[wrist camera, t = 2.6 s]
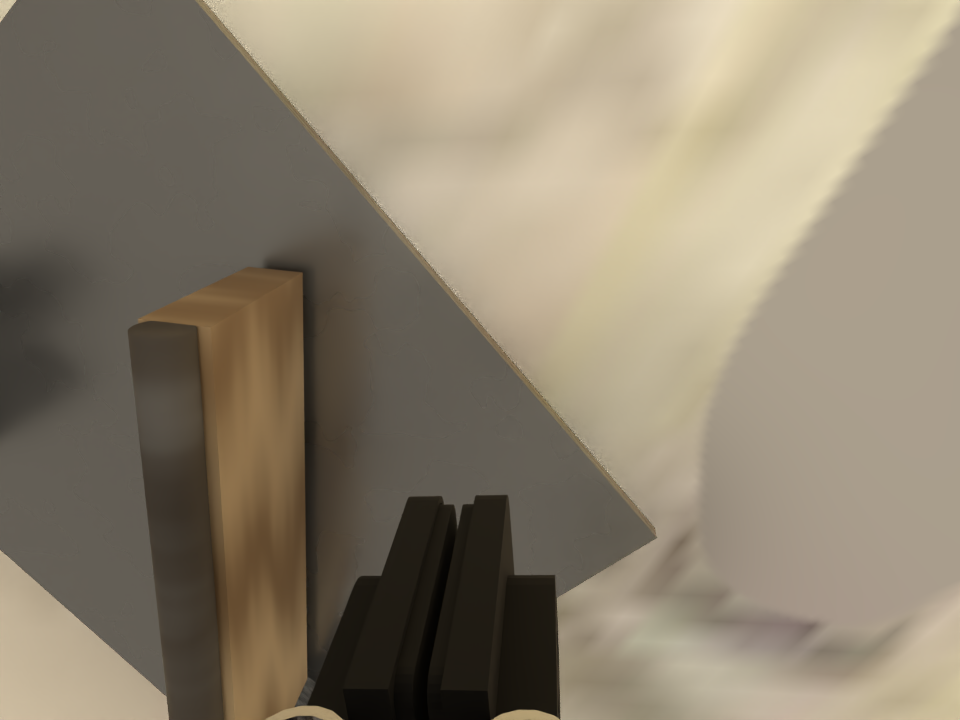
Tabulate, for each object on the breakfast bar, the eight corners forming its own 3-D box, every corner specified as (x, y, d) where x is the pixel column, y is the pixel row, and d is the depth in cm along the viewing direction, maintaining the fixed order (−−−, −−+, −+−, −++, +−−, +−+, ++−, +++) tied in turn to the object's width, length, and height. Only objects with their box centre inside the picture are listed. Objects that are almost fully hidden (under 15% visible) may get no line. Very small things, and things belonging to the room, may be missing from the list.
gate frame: (654, 528, 20) (699, 722, 14) (263, 765, 26) (161, 985, 19) (112, -105, 16) (-192, -257, 10) (-219, 336, 22) (-557, 430, 15)
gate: (307, 678, 23) (224, 862, 17) (264, 671, 23) (167, 852, 17) (302, 272, 18) (184, 343, 12) (248, 266, 18) (105, 334, 12)
